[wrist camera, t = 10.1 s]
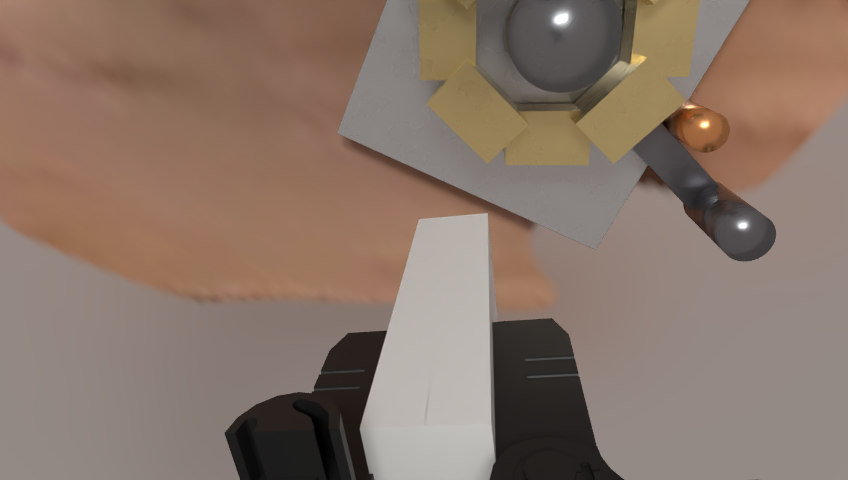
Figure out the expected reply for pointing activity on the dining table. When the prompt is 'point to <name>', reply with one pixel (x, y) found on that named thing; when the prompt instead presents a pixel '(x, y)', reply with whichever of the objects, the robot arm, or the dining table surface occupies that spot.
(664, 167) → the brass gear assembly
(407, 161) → the cap plate
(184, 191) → the dining table surface
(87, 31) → the dining table surface
